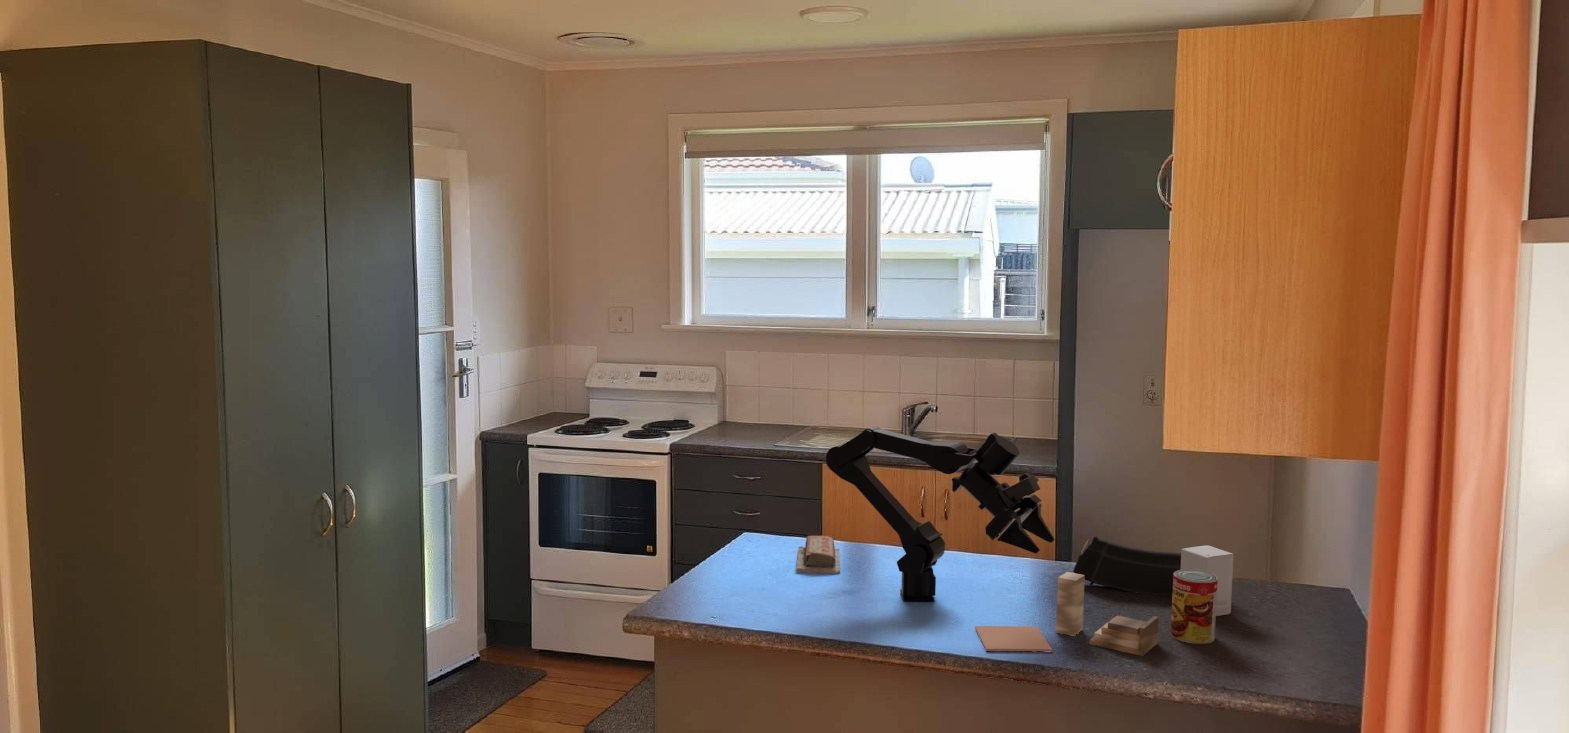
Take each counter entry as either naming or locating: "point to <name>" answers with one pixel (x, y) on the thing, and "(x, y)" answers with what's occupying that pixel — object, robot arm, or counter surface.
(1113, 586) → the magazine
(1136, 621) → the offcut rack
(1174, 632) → the canned food
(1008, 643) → the tile
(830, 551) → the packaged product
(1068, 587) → the tall wooden block
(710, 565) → the counter surface
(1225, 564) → the supplement box
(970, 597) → the counter surface
